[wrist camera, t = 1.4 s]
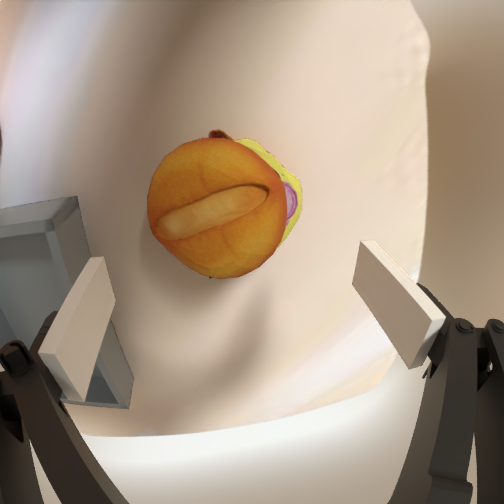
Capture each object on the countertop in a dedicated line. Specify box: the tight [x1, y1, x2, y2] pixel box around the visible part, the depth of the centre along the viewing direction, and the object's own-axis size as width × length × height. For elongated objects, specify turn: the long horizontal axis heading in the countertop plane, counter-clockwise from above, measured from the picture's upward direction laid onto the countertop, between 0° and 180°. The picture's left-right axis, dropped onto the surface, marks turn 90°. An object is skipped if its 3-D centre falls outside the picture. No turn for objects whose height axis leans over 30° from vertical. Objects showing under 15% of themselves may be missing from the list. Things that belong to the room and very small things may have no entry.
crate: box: [0, 196, 134, 409], centre depth 25 cm, size 24×16×5 cm, turn 0°
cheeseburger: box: [147, 130, 302, 279], centre depth 21 cm, size 10×11×10 cm
